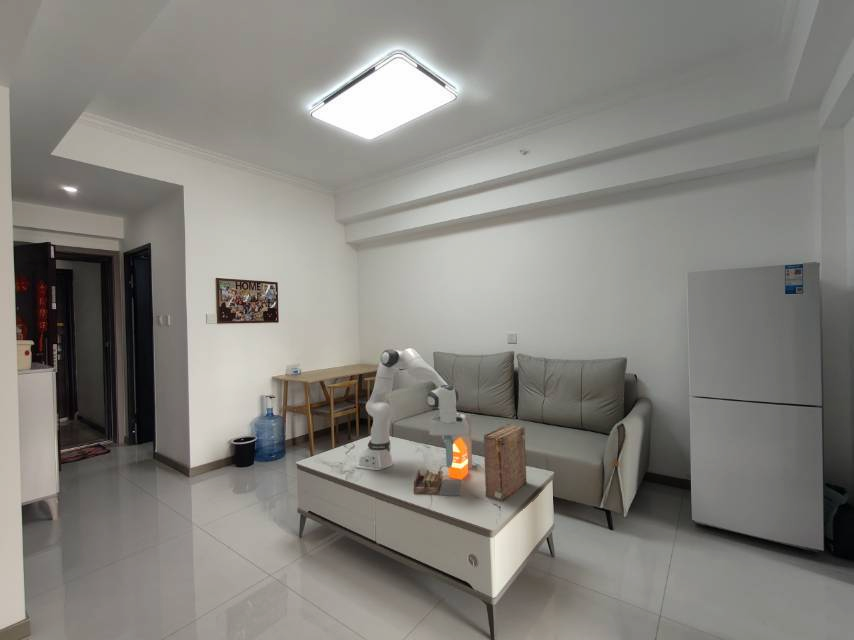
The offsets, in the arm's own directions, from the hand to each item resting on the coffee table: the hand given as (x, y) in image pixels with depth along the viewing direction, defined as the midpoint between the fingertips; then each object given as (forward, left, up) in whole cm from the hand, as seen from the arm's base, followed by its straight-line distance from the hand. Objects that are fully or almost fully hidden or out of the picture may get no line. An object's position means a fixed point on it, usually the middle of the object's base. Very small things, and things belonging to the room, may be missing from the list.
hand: (449, 443), depth 202 cm
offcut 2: (-9, 0, -23) cm, 25 cm away
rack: (-12, 0, -23) cm, 26 cm away
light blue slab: (0, 0, -10) cm, 10 cm away
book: (+28, 0, -23) cm, 37 cm away
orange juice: (+3, +16, -23) cm, 28 cm away
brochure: (+3, +29, -23) cm, 37 cm away
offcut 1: (-11, 0, -23) cm, 26 cm away
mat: (0, 0, -23) cm, 23 cm away
